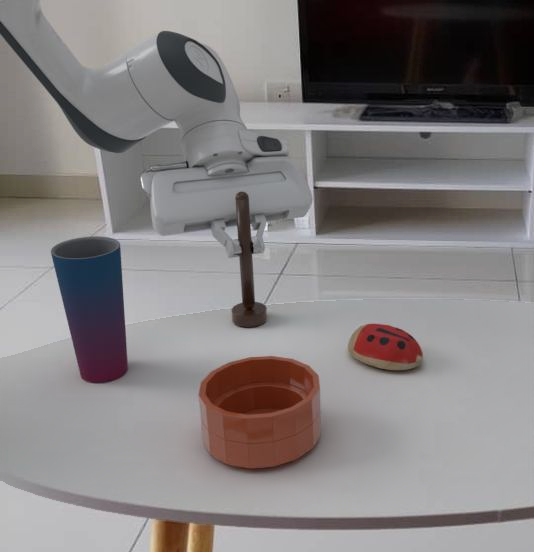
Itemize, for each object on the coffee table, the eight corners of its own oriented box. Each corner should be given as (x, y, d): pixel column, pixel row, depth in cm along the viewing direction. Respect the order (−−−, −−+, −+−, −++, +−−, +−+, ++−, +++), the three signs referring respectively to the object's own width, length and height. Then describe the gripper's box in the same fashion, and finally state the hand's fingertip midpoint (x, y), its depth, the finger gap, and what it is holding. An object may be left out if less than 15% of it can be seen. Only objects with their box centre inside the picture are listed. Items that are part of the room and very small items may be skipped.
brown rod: (231, 328, 95) (221, 197, 88) (233, 313, 99) (224, 187, 92) (266, 326, 96) (259, 196, 89) (267, 311, 100) (260, 186, 93)
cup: (143, 376, 84) (128, 250, 78) (80, 393, 80) (58, 263, 74) (126, 351, 89) (110, 232, 83) (65, 366, 85) (44, 243, 80)
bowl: (199, 478, 68) (193, 421, 65) (209, 410, 78) (204, 359, 75) (323, 468, 69) (322, 413, 67) (317, 403, 79) (316, 353, 77)
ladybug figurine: (366, 336, 94) (366, 311, 92) (435, 357, 89) (437, 330, 88) (335, 359, 88) (334, 332, 87) (408, 382, 84) (408, 354, 82)
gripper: (138, 152, 90) (163, 255, 86) (298, 139, 99) (328, 231, 95) (136, 179, 95) (159, 277, 91) (288, 164, 104) (316, 252, 100)
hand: (247, 253), depth 93 cm, fingers closed on brown rod
